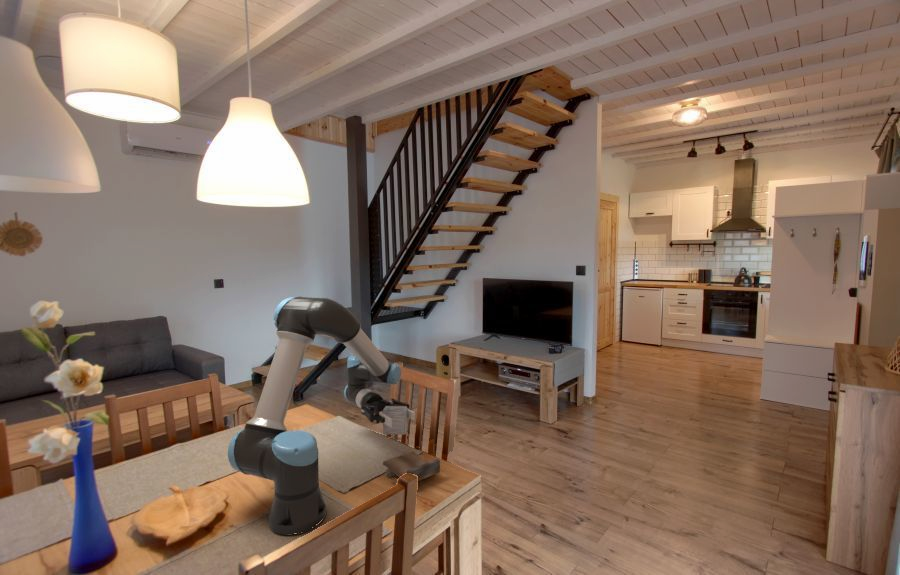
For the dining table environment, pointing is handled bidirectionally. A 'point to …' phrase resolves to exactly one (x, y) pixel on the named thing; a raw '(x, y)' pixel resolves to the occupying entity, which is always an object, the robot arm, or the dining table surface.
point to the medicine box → (396, 420)
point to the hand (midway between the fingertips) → (402, 419)
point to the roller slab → (411, 466)
